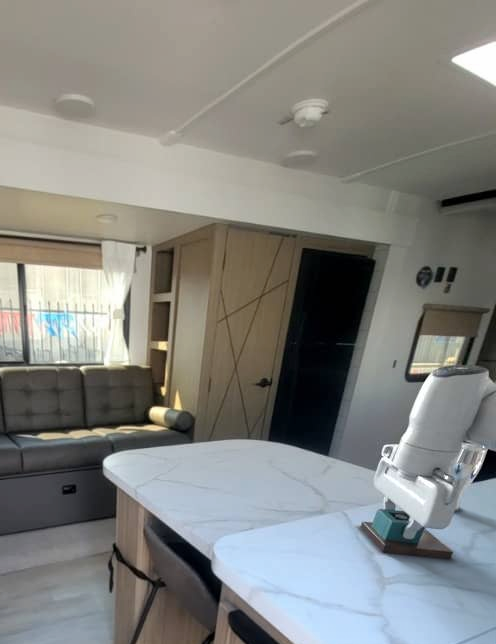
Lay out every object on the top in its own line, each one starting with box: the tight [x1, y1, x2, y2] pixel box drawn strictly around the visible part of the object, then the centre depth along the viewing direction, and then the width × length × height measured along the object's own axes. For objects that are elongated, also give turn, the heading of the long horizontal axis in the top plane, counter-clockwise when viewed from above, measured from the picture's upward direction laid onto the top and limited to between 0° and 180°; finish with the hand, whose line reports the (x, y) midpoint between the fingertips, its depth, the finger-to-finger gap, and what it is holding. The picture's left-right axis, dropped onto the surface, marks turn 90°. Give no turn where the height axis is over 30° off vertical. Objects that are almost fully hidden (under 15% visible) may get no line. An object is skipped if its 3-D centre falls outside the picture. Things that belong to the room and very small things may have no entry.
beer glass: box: [450, 441, 489, 512], centre depth 95 cm, size 7×7×15 cm
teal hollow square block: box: [372, 508, 426, 544], centre depth 79 cm, size 6×6×4 cm
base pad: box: [359, 514, 454, 560], centre depth 79 cm, size 12×10×6 cm
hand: (396, 527), depth 79 cm, fingers closed on teal hollow square block, 6 cm apart
